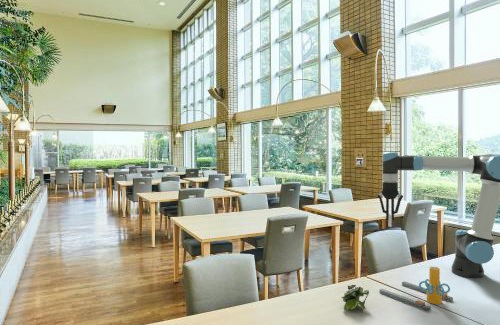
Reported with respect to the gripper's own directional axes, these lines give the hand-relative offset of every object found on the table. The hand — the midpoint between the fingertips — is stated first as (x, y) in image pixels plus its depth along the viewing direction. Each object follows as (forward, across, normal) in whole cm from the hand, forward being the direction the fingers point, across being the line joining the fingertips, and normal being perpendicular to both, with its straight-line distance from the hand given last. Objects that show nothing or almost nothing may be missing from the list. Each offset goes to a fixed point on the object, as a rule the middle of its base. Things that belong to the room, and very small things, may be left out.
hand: (389, 226), depth 195 cm
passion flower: (+27, -16, -46) cm, 56 cm away
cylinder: (+27, +16, -30) cm, 43 cm away
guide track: (+26, +10, -27) cm, 39 cm away
